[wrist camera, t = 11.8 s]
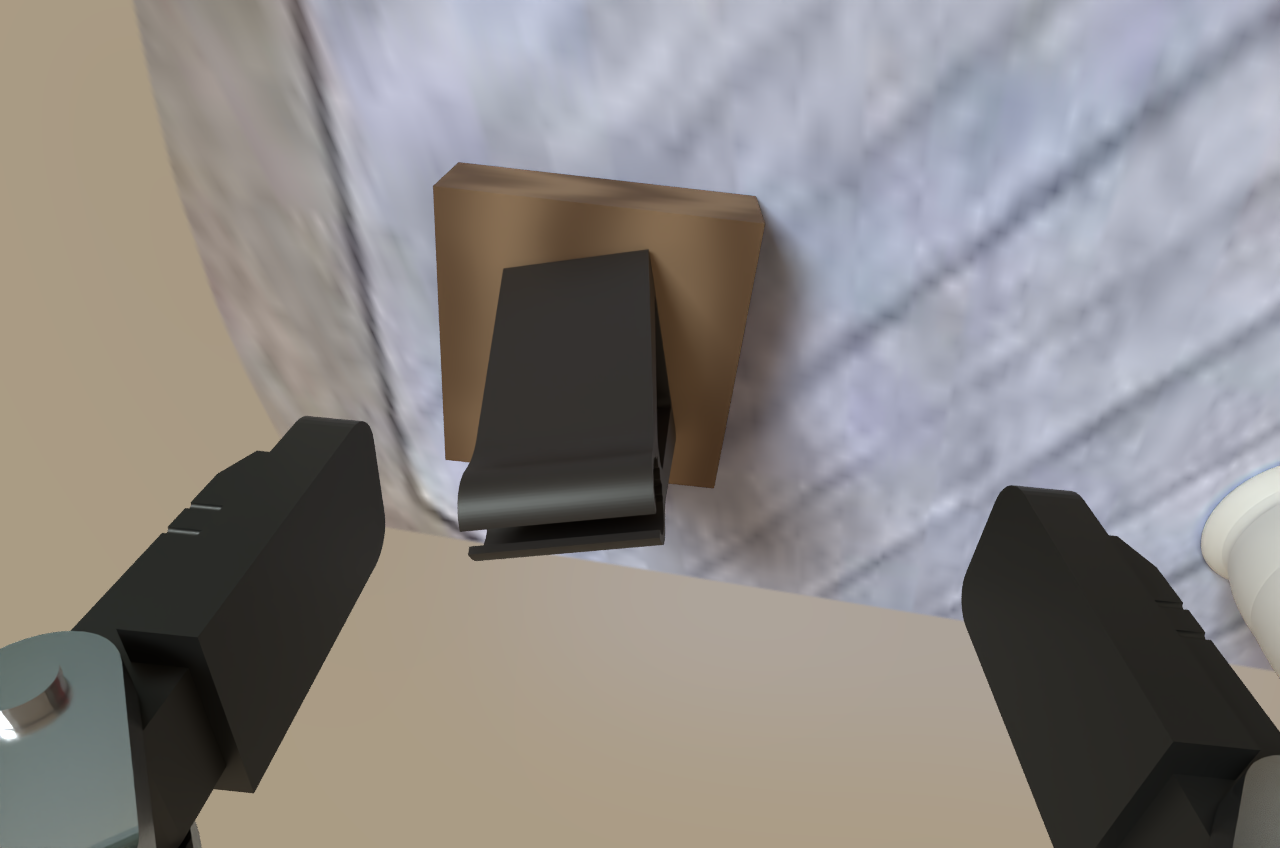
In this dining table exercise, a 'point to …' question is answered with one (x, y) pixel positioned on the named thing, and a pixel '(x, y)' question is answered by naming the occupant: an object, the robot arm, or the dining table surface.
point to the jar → (1250, 555)
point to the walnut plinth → (585, 227)
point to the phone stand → (572, 413)
